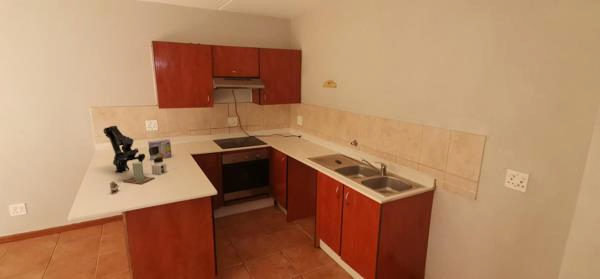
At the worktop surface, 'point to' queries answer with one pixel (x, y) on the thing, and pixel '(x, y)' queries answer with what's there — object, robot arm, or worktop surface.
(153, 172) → the container
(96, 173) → the worktop surface
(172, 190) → the worktop surface
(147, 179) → the walnut board
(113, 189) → the architectural model
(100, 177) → the worktop surface
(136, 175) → the sage block
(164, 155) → the cake pan box
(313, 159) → the worktop surface
